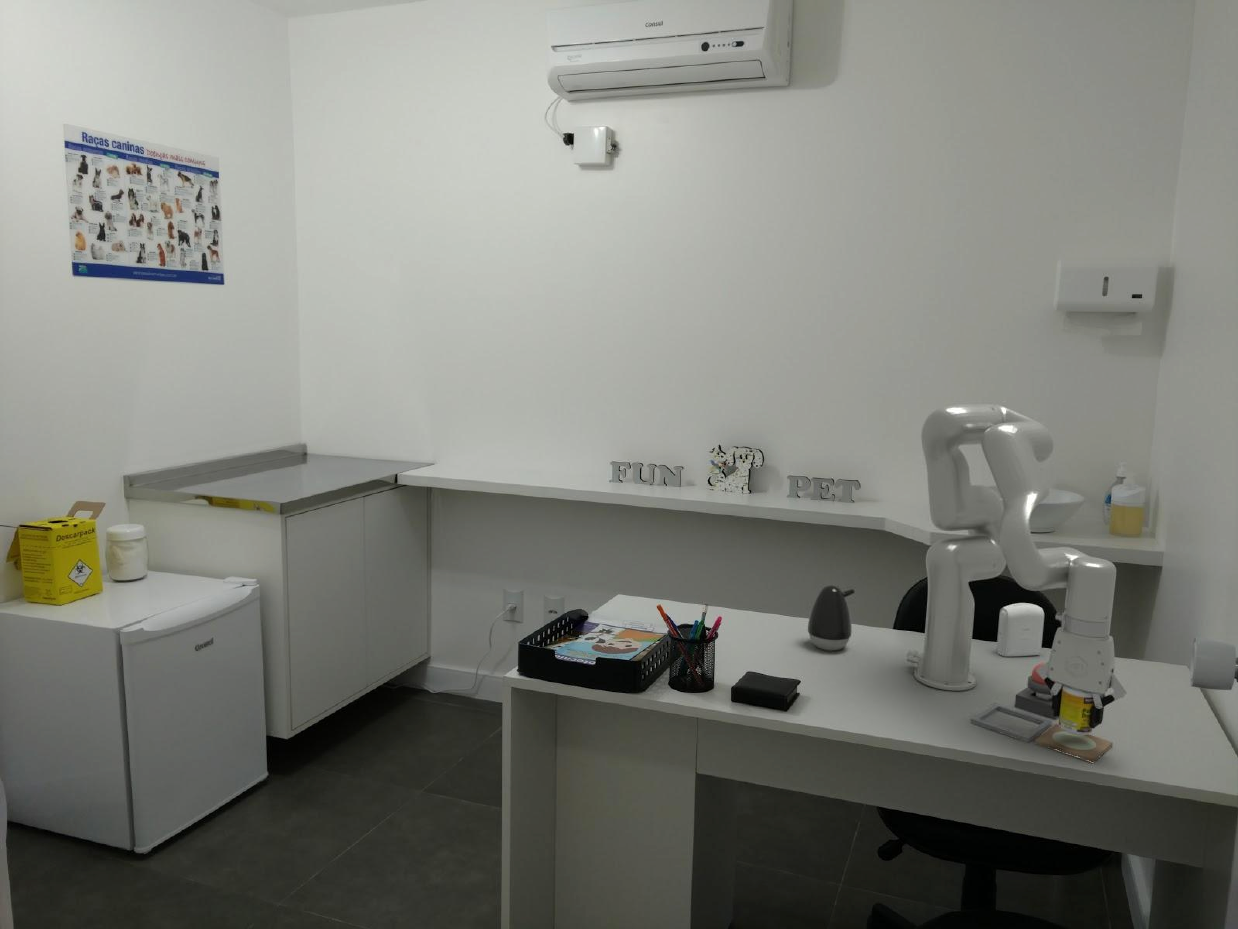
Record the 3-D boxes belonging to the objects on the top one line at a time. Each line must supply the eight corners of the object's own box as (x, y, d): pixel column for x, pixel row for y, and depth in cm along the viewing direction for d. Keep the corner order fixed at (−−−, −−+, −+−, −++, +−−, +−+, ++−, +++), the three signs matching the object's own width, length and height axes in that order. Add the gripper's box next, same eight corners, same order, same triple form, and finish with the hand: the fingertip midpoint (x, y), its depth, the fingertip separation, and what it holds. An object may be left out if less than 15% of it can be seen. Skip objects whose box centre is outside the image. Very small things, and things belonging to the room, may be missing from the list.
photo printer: (1003, 658, 206) (1008, 607, 205) (993, 651, 211) (997, 601, 209) (1043, 656, 208) (1048, 606, 206) (1032, 650, 212) (1037, 600, 210)
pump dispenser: (856, 655, 206) (860, 592, 204) (811, 654, 206) (815, 591, 204) (845, 640, 216) (849, 579, 214) (803, 638, 216) (806, 578, 214)
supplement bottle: (1081, 739, 159) (1087, 685, 157) (1051, 727, 163) (1057, 674, 162) (1098, 732, 162) (1104, 679, 160) (1068, 720, 166) (1074, 669, 165)
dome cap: (1021, 699, 179) (1024, 663, 178) (1033, 691, 184) (1037, 655, 183) (1053, 709, 175) (1057, 672, 174) (1066, 701, 179) (1069, 664, 178)
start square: (970, 722, 171) (970, 718, 171) (995, 707, 179) (995, 703, 179) (1028, 742, 164) (1028, 738, 163) (1051, 725, 171) (1051, 721, 171)
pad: (1034, 743, 163) (1035, 739, 163) (1055, 727, 170) (1056, 723, 170) (1092, 763, 156) (1093, 758, 156) (1112, 746, 163) (1112, 741, 163)
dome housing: (1014, 706, 180) (1015, 694, 179) (1030, 695, 185) (1031, 684, 185) (1055, 719, 174) (1056, 707, 173) (1070, 708, 179) (1072, 696, 179)
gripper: (1029, 618, 163) (1020, 710, 166) (1131, 643, 151) (1120, 743, 154) (1045, 610, 168) (1036, 700, 171) (1145, 633, 156) (1134, 730, 159)
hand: (1076, 719), depth 162 cm, fingers closed on supplement bottle, 5 cm apart
